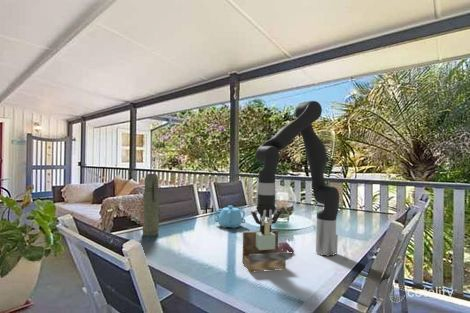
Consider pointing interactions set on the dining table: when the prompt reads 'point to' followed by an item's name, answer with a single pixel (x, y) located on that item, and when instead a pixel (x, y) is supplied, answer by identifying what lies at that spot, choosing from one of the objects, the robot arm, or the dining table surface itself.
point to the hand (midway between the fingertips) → (265, 233)
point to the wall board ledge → (261, 254)
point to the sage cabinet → (265, 238)
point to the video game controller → (284, 247)
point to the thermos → (151, 206)
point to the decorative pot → (230, 217)
